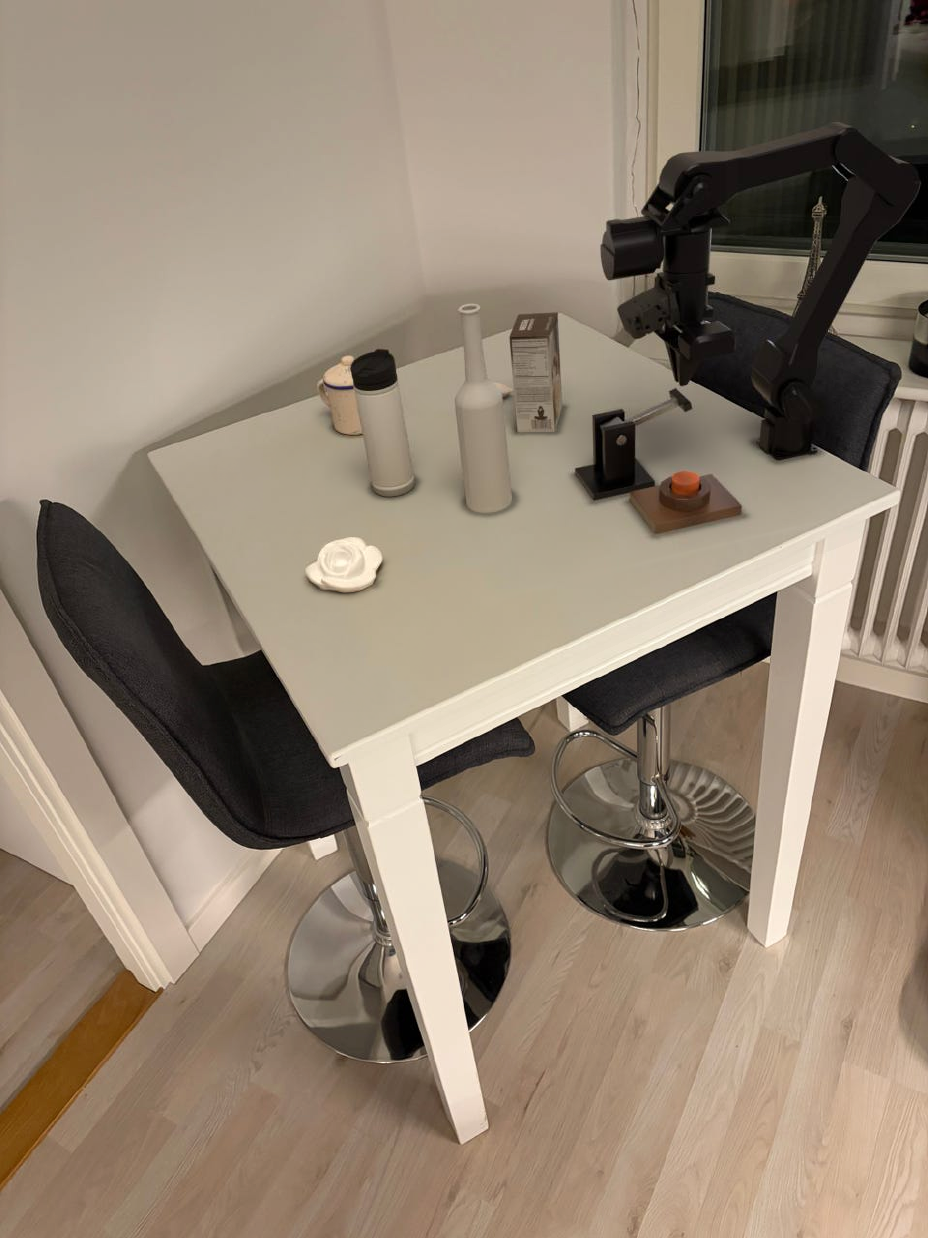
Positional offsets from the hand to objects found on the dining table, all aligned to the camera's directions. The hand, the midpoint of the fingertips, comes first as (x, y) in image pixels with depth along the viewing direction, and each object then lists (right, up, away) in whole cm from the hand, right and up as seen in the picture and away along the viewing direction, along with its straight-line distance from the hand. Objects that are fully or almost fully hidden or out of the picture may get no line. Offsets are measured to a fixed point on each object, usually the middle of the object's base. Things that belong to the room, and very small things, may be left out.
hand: (681, 383), depth 126 cm
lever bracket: (-8, -12, +7) cm, 16 cm away
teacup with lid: (-48, +1, +31) cm, 57 cm away
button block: (0, -17, -1) cm, 17 cm away
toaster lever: (-4, -5, +3) cm, 7 cm away
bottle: (-26, -15, +6) cm, 31 cm away
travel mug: (-40, -12, +13) cm, 44 cm away
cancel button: (0, -15, -2) cm, 15 cm away
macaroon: (-24, +6, +33) cm, 41 cm away
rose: (-45, -26, -4) cm, 52 cm away
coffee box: (-17, 0, +24) cm, 30 cm away
